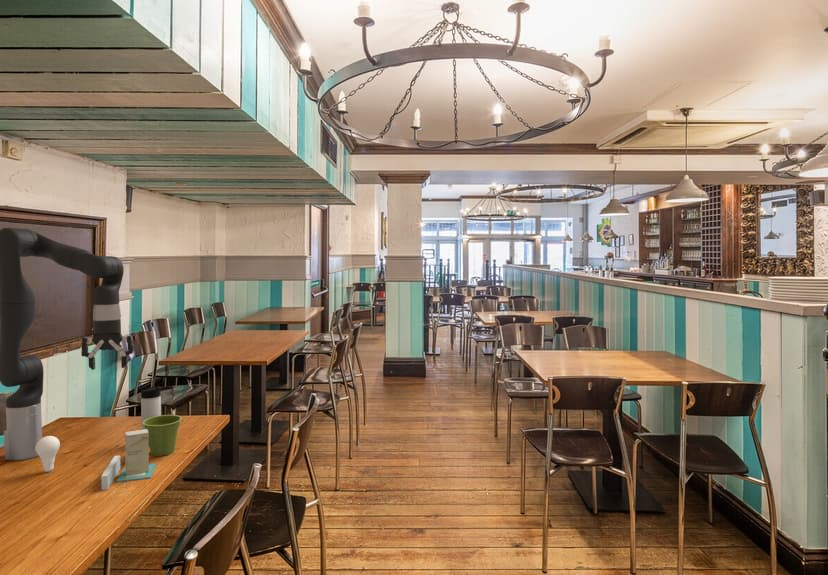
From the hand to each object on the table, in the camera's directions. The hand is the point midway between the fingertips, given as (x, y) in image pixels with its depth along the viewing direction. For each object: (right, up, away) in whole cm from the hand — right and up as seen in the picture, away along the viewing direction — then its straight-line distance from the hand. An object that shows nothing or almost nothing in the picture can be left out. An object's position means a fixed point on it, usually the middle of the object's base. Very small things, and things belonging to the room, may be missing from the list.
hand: (108, 368), depth 163 cm
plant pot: (+14, -30, +8) cm, 34 cm away
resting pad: (+14, -31, -9) cm, 35 cm away
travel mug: (+5, -30, +18) cm, 35 cm away
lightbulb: (-14, -31, -8) cm, 34 cm away
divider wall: (+8, -31, -13) cm, 34 cm away
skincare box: (+14, -30, -9) cm, 34 cm away
